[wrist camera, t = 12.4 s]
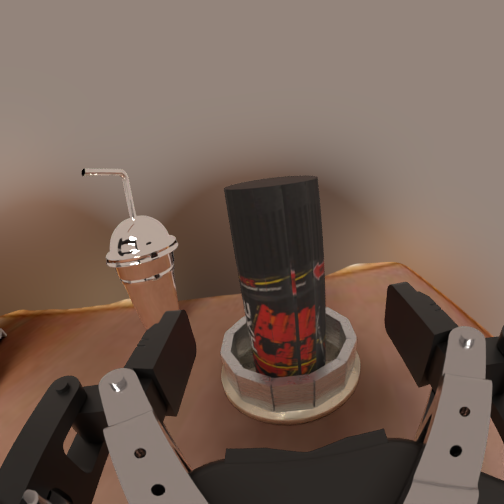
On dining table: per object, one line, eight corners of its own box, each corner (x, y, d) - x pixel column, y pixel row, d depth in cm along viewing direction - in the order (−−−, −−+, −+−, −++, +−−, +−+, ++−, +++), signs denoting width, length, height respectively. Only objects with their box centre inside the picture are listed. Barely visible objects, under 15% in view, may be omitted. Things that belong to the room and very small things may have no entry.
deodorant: (242, 366, 23) (207, 190, 18) (291, 336, 26) (274, 176, 21) (288, 402, 18) (264, 189, 13) (339, 361, 21) (336, 175, 16)
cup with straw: (210, 327, 31) (172, 147, 25) (140, 359, 26) (81, 166, 20) (180, 303, 37) (148, 158, 31) (122, 327, 33) (78, 175, 26)
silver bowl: (213, 427, 17) (200, 396, 16) (230, 337, 29) (224, 306, 27) (375, 410, 16) (384, 376, 15) (342, 324, 27) (343, 293, 26)
